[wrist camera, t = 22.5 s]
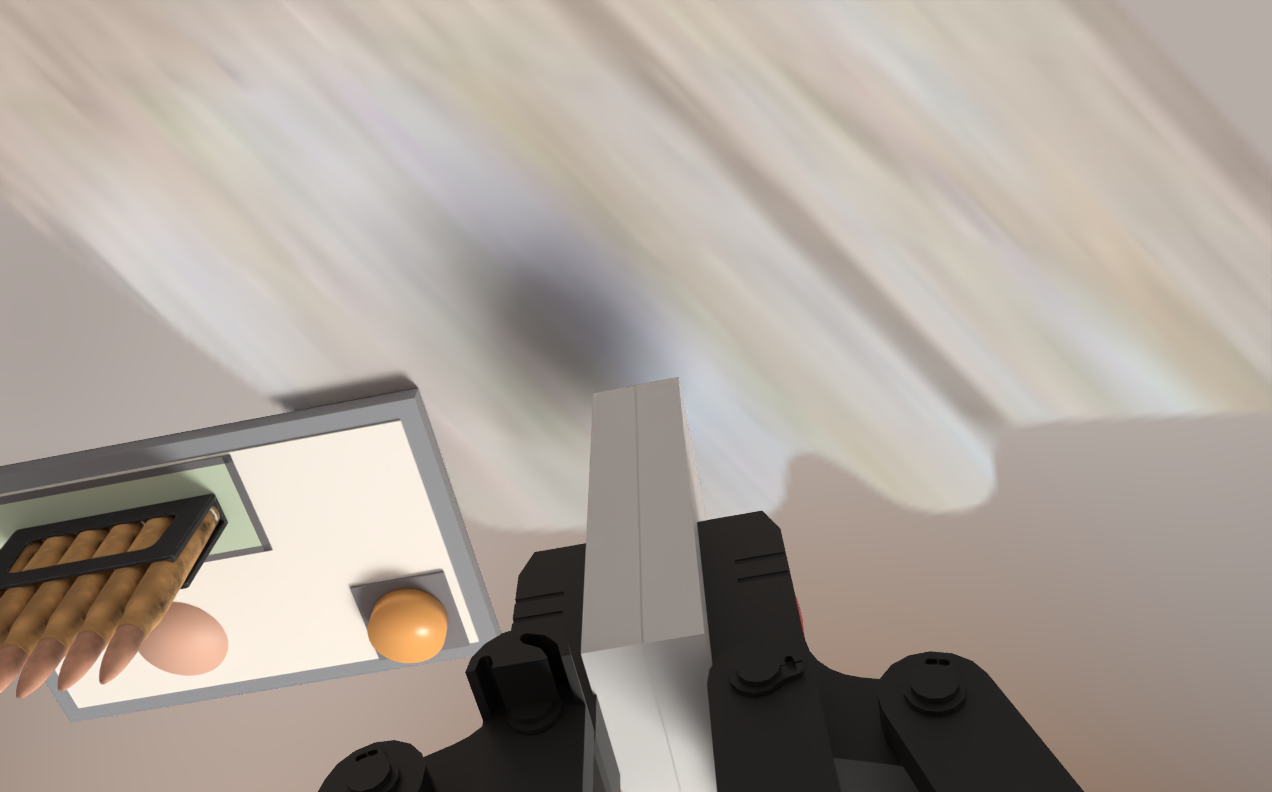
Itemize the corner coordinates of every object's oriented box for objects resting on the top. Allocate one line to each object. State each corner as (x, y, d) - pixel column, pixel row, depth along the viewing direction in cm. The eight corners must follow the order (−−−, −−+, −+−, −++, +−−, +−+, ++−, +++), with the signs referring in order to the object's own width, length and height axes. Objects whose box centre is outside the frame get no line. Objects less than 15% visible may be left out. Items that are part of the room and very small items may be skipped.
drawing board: (-64, 478, 54) (-79, 492, 52) (418, 388, 52) (413, 401, 50) (78, 709, 61) (67, 726, 60) (503, 639, 59) (501, 655, 58)
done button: (361, 595, 56) (356, 610, 55) (436, 582, 55) (432, 597, 54) (385, 653, 58) (381, 668, 57) (457, 641, 57) (454, 656, 56)
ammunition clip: (30, 559, 55) (-111, 738, 44) (13, 530, 54) (-135, 705, 43) (229, 523, 54) (134, 696, 43) (215, 492, 53) (113, 662, 42)
